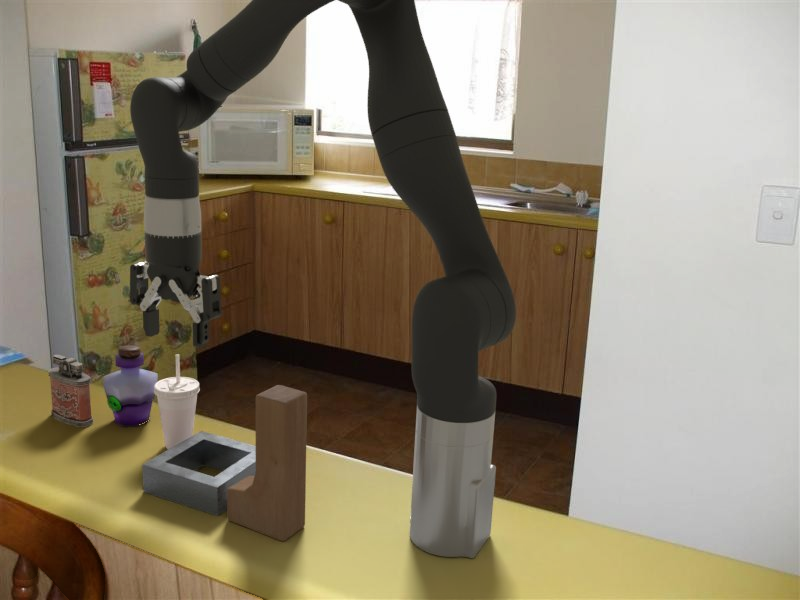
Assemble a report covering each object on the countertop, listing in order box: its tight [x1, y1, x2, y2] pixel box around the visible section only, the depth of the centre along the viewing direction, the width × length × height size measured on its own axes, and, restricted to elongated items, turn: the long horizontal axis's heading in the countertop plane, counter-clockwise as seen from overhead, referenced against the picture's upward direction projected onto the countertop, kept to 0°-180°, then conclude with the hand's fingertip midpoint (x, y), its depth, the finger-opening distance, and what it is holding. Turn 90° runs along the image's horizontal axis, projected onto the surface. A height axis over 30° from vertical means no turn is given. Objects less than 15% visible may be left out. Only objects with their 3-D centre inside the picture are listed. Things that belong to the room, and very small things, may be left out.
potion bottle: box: [102, 344, 159, 428], centre depth 131 cm, size 9×9×12 cm
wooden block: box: [226, 384, 308, 542], centre depth 103 cm, size 9×4×18 cm, turn 60°
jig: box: [142, 430, 256, 517], centre depth 113 cm, size 12×12×4 cm
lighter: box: [47, 354, 94, 428], centre depth 130 cm, size 8×3×10 cm, turn 58°
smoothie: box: [154, 353, 201, 450], centre depth 123 cm, size 6×6×14 cm
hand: (175, 340), depth 120 cm, fingers open, 8 cm apart
